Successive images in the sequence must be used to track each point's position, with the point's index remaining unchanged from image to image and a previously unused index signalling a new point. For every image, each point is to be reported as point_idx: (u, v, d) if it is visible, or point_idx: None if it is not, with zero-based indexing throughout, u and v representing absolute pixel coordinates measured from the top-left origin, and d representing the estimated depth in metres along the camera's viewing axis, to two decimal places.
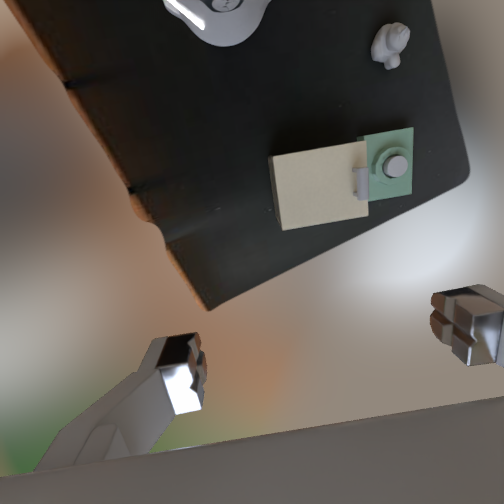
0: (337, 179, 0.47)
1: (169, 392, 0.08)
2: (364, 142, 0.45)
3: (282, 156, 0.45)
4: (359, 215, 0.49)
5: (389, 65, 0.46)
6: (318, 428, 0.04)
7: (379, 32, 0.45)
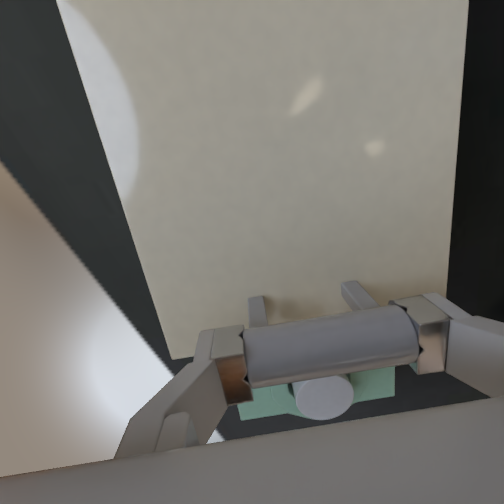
0: (316, 226, 0.11)
1: (223, 383, 0.08)
2: None
3: None
4: (170, 330, 0.12)
5: None
6: (318, 428, 0.04)
7: None
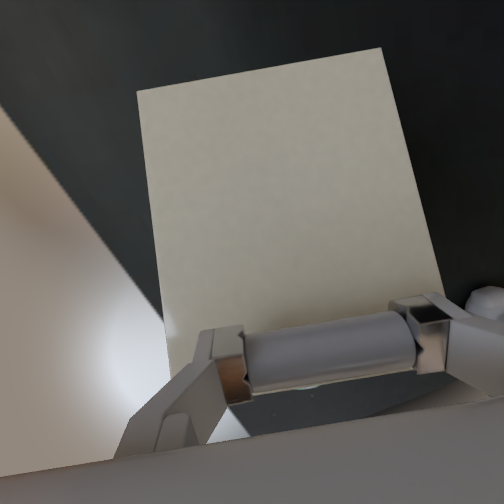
0: (313, 264, 0.13)
1: (223, 383, 0.08)
2: None
3: (383, 75, 0.14)
4: (177, 370, 0.12)
5: None
6: (318, 428, 0.04)
7: None
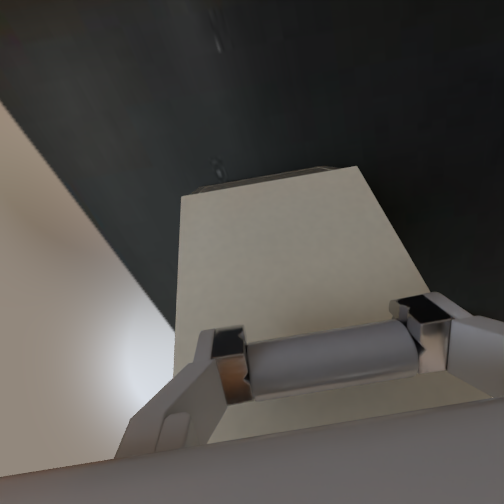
0: (319, 312, 0.13)
1: (223, 383, 0.08)
2: None
3: (361, 180, 0.18)
4: None
5: None
6: (318, 428, 0.04)
7: None
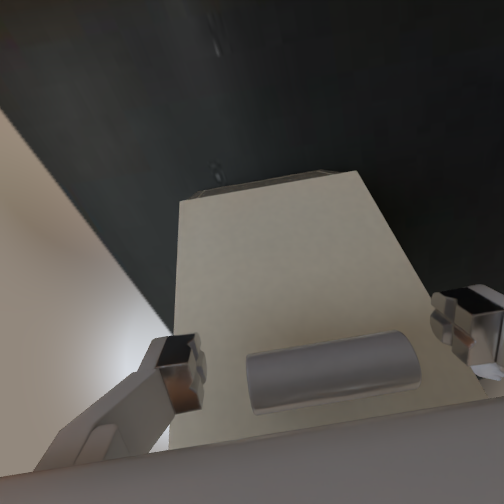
0: (319, 320, 0.13)
1: (169, 392, 0.08)
2: None
3: (361, 185, 0.18)
4: (177, 432, 0.11)
5: None
6: (318, 428, 0.04)
7: None
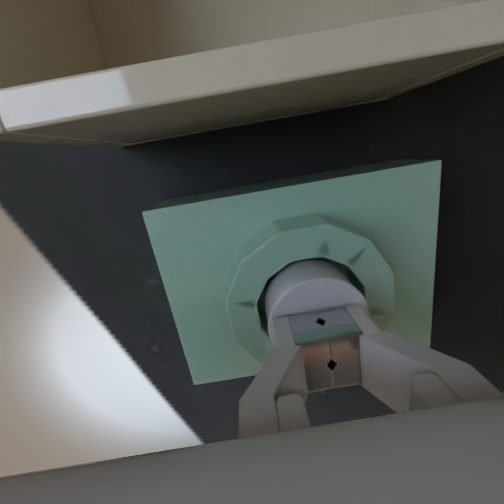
0: None
1: (307, 369, 0.08)
2: None
3: None
4: None
5: None
6: (318, 428, 0.04)
7: None
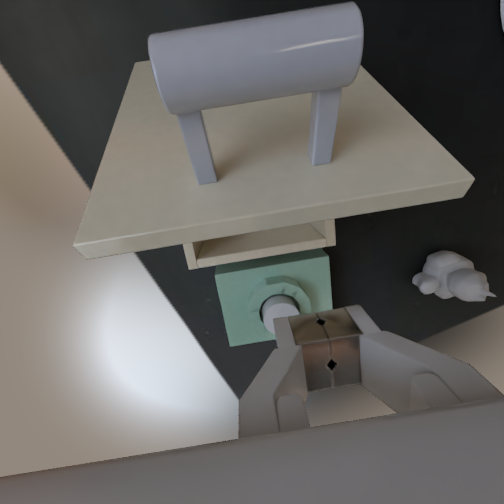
0: (272, 123, 0.12)
1: (307, 370, 0.08)
2: (461, 173, 0.09)
3: None
4: (93, 208, 0.09)
5: (424, 279, 0.30)
6: (318, 428, 0.04)
7: (466, 259, 0.30)
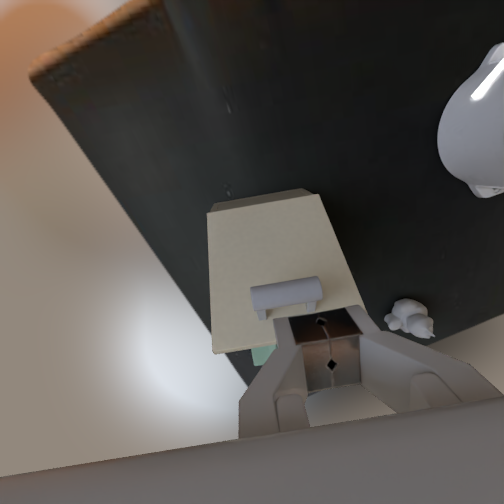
0: (289, 280, 0.25)
1: (307, 370, 0.08)
2: None
3: (320, 203, 0.30)
4: (215, 331, 0.23)
5: (391, 320, 0.43)
6: (318, 428, 0.04)
7: (421, 305, 0.43)
